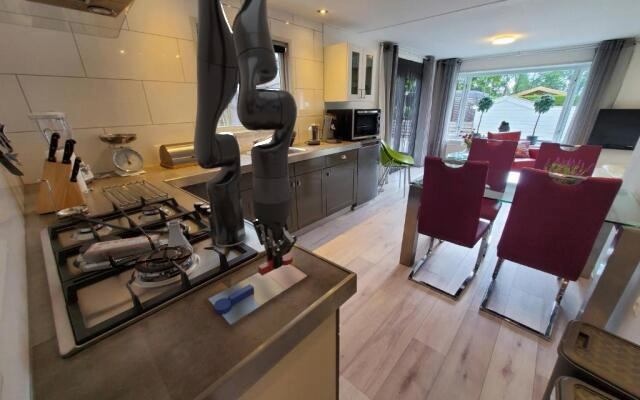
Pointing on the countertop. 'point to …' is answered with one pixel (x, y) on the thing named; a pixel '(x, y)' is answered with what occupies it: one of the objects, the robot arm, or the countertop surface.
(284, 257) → the red spoon
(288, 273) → the sorting mat
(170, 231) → the flask
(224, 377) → the countertop surface
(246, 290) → the blue spoon
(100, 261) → the packaged product
